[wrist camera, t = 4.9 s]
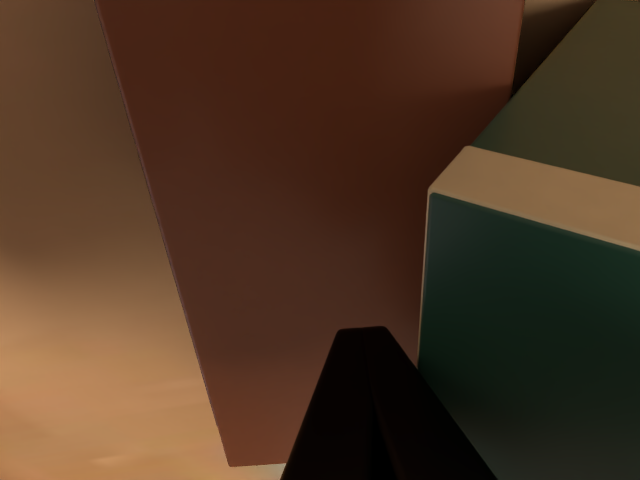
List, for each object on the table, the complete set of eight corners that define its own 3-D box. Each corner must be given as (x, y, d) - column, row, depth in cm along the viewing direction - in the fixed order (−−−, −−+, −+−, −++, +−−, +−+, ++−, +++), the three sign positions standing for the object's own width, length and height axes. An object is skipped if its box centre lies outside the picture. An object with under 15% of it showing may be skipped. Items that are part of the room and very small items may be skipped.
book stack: (222, 375, 18) (209, 487, 15) (70, -218, 9) (-29, -214, 6) (430, 361, 18) (456, 470, 15) (482, -250, 9) (566, -261, 6)
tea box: (369, 272, 15) (429, 624, 9) (366, 13, 11) (475, 321, 5) (645, 251, 15) (901, 588, 9) (743, -16, 11) (1338, 254, 5)
